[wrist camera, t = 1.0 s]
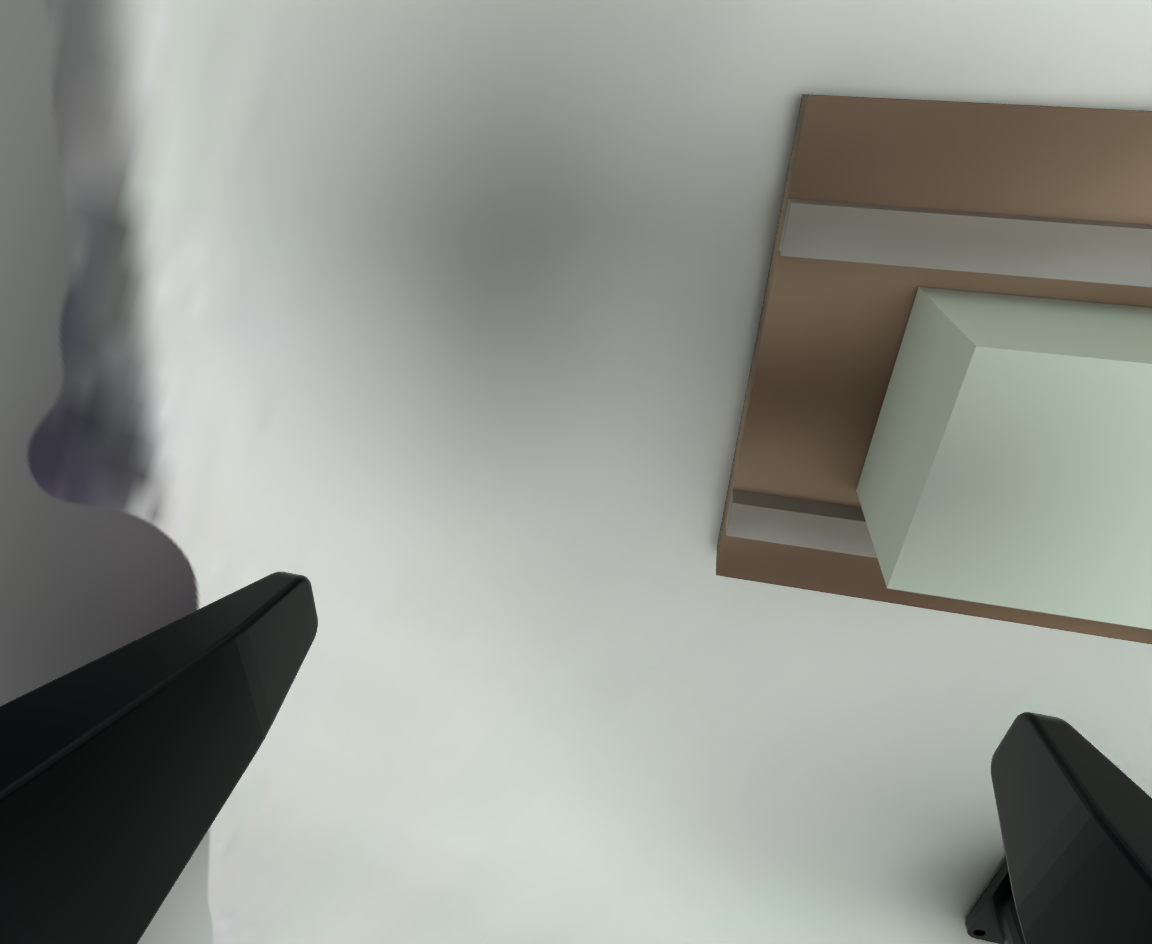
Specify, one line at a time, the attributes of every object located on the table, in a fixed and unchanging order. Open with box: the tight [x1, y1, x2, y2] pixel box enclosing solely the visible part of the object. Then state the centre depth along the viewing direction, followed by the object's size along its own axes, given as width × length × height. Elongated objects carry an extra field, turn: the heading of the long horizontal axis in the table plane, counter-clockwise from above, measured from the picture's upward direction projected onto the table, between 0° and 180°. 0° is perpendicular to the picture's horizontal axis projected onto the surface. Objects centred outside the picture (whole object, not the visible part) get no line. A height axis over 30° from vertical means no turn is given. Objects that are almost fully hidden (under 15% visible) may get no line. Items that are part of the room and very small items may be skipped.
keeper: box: [856, 287, 1152, 630], centre depth 15 cm, size 6×6×4 cm
